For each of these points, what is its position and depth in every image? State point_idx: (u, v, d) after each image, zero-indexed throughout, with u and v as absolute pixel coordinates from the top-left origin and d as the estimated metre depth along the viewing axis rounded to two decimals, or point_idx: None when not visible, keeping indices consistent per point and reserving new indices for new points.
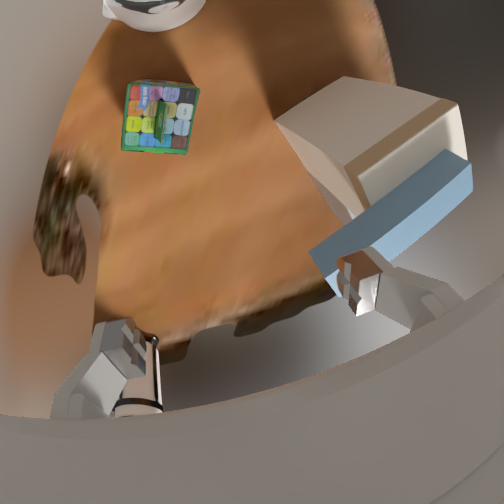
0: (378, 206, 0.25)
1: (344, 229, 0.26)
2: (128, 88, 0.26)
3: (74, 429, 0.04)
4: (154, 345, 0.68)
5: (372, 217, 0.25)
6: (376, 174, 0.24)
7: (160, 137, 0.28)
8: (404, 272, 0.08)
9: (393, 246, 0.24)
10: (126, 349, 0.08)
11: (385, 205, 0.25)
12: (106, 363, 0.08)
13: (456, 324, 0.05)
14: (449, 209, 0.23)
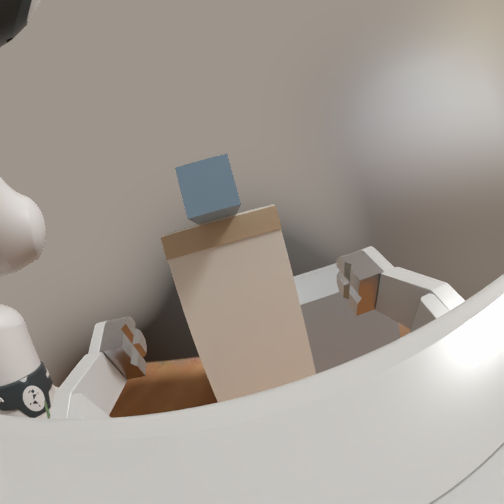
0: None
1: None
2: None
3: (74, 429, 0.04)
4: None
5: None
6: None
7: None
8: (404, 272, 0.08)
9: None
10: (126, 349, 0.08)
11: None
12: (106, 363, 0.08)
13: (456, 324, 0.05)
14: None
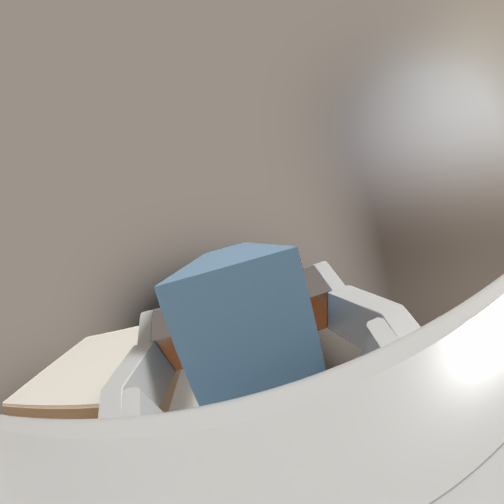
0: None
1: None
2: None
3: (74, 429, 0.04)
4: None
5: None
6: (22, 392, 0.12)
7: None
8: (355, 291, 0.08)
9: (230, 252, 0.15)
10: None
11: None
12: (158, 353, 0.08)
13: (456, 324, 0.05)
14: (244, 243, 0.23)
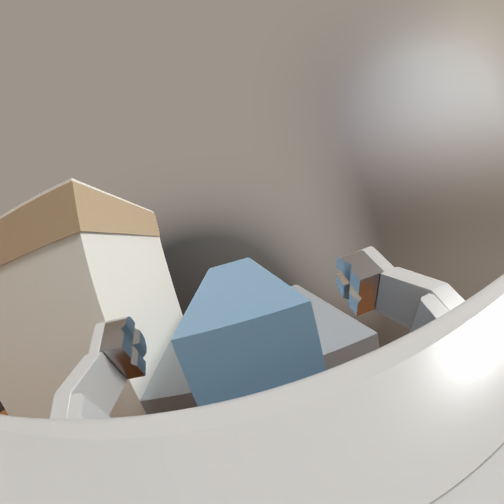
0: None
1: None
2: None
3: (74, 429, 0.04)
4: None
5: None
6: None
7: None
8: (404, 272, 0.08)
9: (238, 280, 0.15)
10: (126, 349, 0.08)
11: None
12: (106, 363, 0.08)
13: (456, 324, 0.05)
14: (249, 261, 0.23)
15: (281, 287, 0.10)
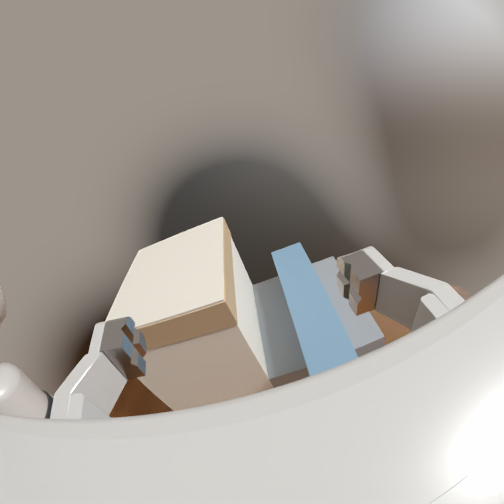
0: None
1: None
2: None
3: (74, 429, 0.04)
4: None
5: None
6: None
7: None
8: (404, 272, 0.08)
9: (315, 309, 0.25)
10: (126, 349, 0.08)
11: None
12: (106, 363, 0.08)
13: (456, 324, 0.05)
14: (306, 260, 0.32)
15: (345, 338, 0.21)
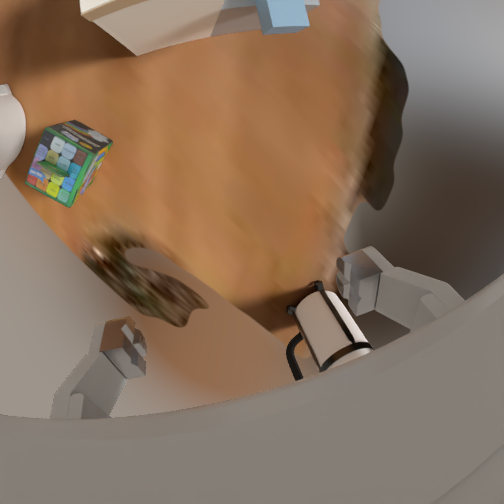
0: None
1: (256, 3, 0.21)
2: (27, 183, 0.28)
3: (74, 429, 0.04)
4: (321, 290, 0.63)
5: None
6: None
7: (58, 175, 0.27)
8: (404, 272, 0.08)
9: None
10: (126, 349, 0.08)
11: None
12: (106, 363, 0.08)
13: (456, 324, 0.05)
14: None
15: (302, 4, 0.19)
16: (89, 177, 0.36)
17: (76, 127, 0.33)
